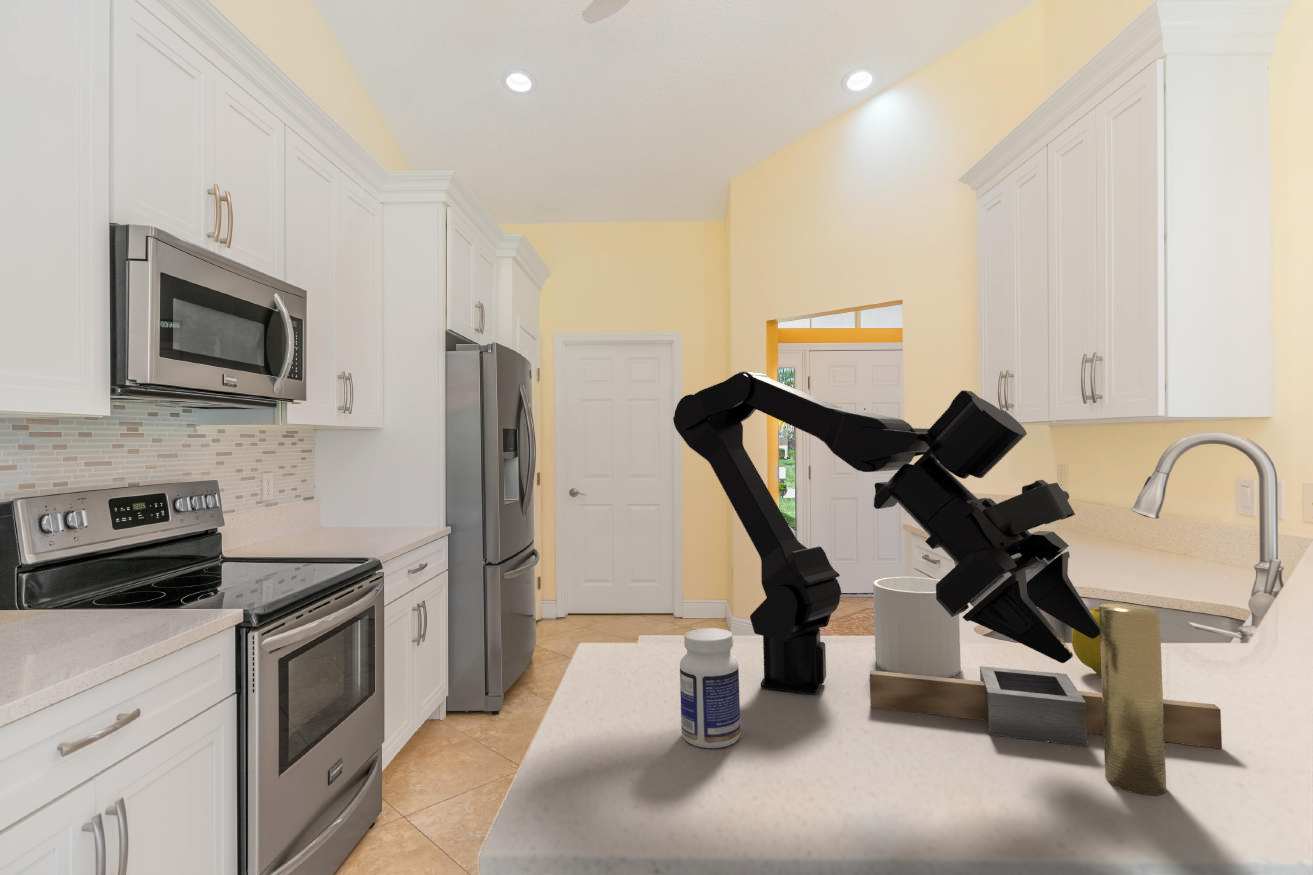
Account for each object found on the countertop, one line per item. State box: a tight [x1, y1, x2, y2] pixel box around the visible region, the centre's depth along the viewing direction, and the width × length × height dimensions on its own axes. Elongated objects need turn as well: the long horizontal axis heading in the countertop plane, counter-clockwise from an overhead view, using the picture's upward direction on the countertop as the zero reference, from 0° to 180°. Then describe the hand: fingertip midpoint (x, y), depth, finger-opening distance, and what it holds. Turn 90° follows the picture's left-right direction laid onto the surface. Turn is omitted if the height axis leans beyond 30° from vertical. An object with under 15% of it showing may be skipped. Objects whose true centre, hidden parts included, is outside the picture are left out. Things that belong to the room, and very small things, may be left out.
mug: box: [872, 576, 962, 678], centre depth 83 cm, size 13×10×10 cm
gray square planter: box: [979, 665, 1089, 748], centre depth 64 cm, size 8×8×4 cm
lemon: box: [1071, 607, 1102, 676], centre depth 77 cm, size 6×6×8 cm
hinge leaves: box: [869, 670, 1223, 749], centre depth 64 cm, size 30×1×4 cm, turn 68°
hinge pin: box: [1098, 603, 1167, 797], centre depth 53 cm, size 4×4×14 cm
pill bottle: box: [679, 627, 741, 749], centre depth 63 cm, size 6×6×10 cm
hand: (1084, 647), depth 55 cm, fingers open, 9 cm apart
